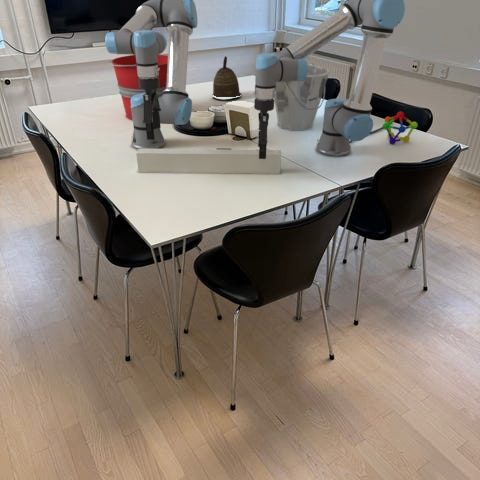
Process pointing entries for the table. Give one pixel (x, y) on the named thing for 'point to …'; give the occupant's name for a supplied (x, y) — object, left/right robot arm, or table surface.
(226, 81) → the bell
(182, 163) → the bar
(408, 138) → the educational toy
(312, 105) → the bucket
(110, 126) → the table surface
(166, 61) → the bucket
